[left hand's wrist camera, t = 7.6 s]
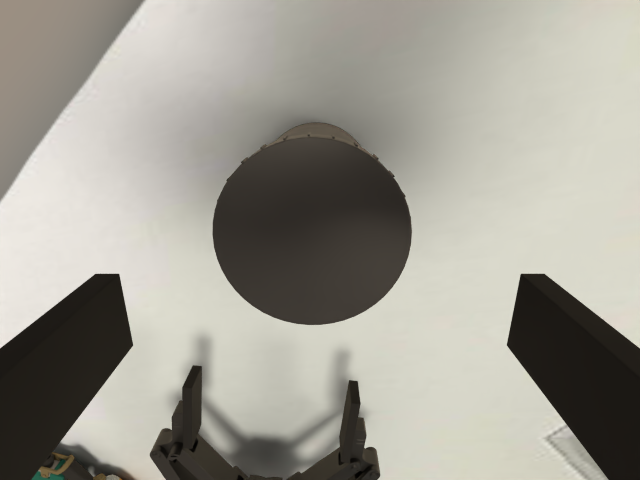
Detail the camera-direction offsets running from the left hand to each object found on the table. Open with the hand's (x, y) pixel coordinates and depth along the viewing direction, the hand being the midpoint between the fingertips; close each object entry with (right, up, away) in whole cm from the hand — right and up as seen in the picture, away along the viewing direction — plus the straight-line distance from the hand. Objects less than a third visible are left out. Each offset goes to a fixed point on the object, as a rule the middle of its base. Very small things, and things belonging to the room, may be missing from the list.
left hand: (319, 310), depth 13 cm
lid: (0, +2, +6) cm, 6 cm away
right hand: (-4, -10, +20) cm, 22 cm away
